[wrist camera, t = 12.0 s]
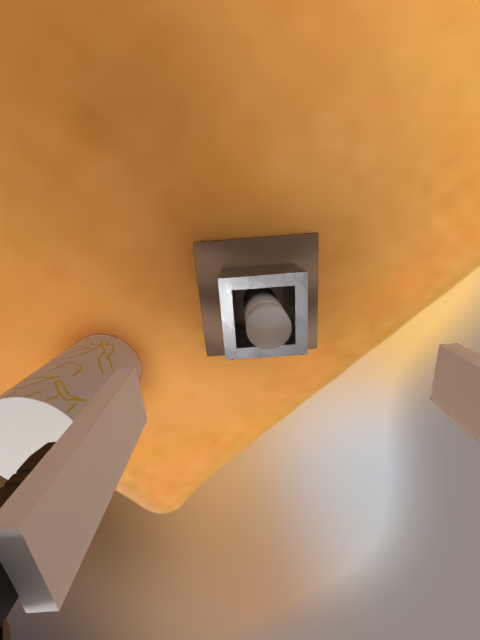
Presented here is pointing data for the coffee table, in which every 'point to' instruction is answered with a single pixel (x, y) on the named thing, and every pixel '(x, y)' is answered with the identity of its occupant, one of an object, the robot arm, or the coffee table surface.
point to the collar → (293, 304)
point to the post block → (261, 303)
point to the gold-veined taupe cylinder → (57, 396)
